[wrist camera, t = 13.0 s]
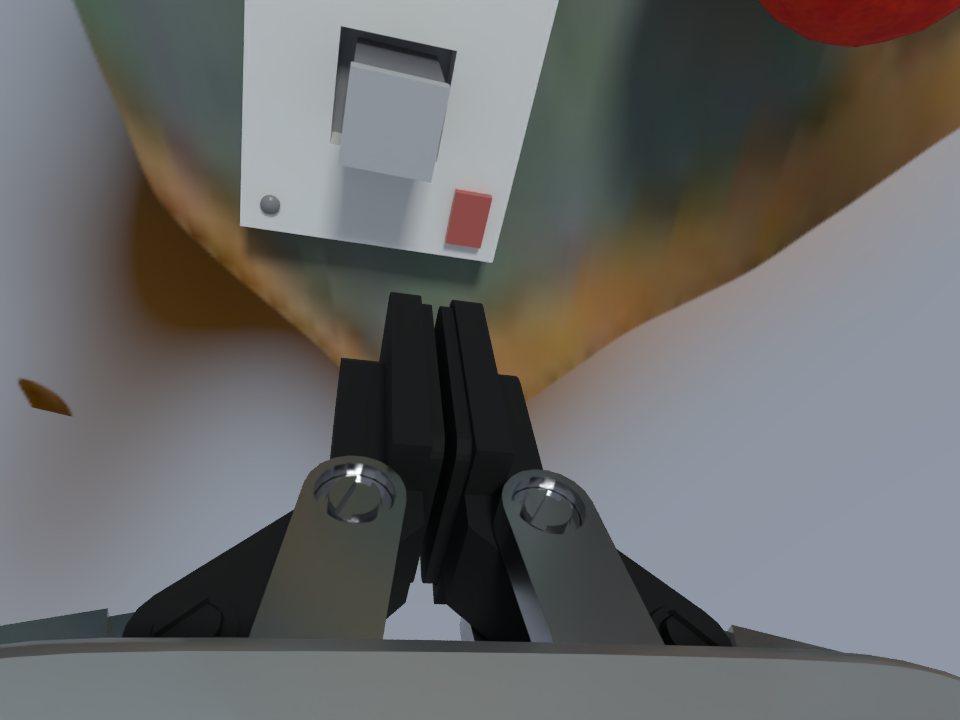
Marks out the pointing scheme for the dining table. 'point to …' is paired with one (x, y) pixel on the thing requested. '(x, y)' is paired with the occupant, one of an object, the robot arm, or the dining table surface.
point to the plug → (393, 111)
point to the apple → (858, 18)
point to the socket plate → (321, 105)
